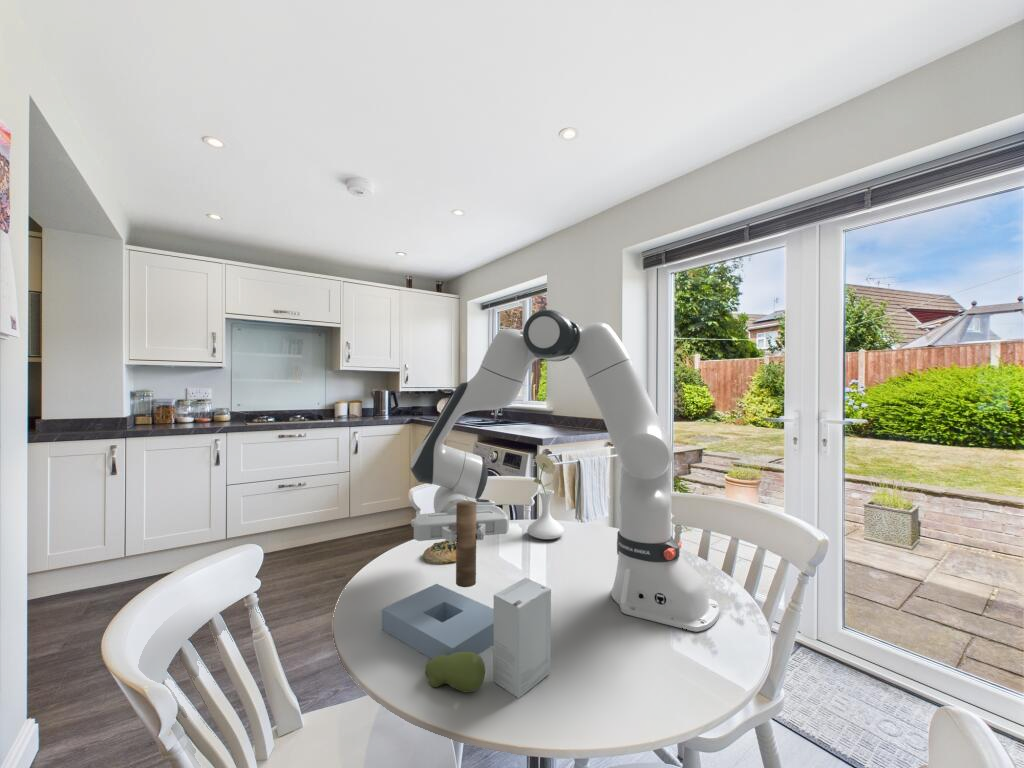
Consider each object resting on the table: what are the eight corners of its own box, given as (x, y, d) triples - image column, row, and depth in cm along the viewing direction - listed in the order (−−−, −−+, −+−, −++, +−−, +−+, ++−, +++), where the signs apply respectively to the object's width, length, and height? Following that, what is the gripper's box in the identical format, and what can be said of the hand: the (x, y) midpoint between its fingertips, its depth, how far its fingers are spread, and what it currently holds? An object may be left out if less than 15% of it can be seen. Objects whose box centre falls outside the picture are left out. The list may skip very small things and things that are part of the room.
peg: (479, 582, 93) (480, 503, 92) (465, 589, 90) (466, 508, 89) (466, 576, 96) (466, 500, 95) (451, 583, 92) (452, 504, 92)
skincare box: (525, 659, 80) (525, 575, 80) (552, 675, 76) (553, 586, 76) (490, 683, 74) (491, 592, 74) (518, 701, 70) (519, 605, 70)
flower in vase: (571, 540, 138) (571, 457, 137) (536, 545, 134) (537, 459, 133) (551, 526, 150) (552, 450, 150) (519, 530, 146) (519, 452, 145)
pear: (473, 666, 70) (416, 663, 73) (478, 701, 69) (421, 696, 73) (487, 645, 75) (434, 643, 78) (492, 678, 75) (438, 674, 78)
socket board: (506, 635, 88) (506, 614, 88) (452, 671, 77) (452, 648, 77) (436, 601, 100) (436, 583, 100) (381, 629, 90) (381, 608, 89)
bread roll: (451, 545, 133) (451, 529, 132) (472, 563, 124) (472, 546, 124) (415, 556, 126) (416, 539, 125) (435, 576, 118) (436, 557, 117)
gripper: (410, 505, 102) (413, 525, 89) (500, 499, 107) (515, 518, 94) (410, 533, 102) (413, 558, 89) (499, 526, 108) (515, 548, 94)
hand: (466, 537), depth 92 cm, fingers closed on peg, 4 cm apart
